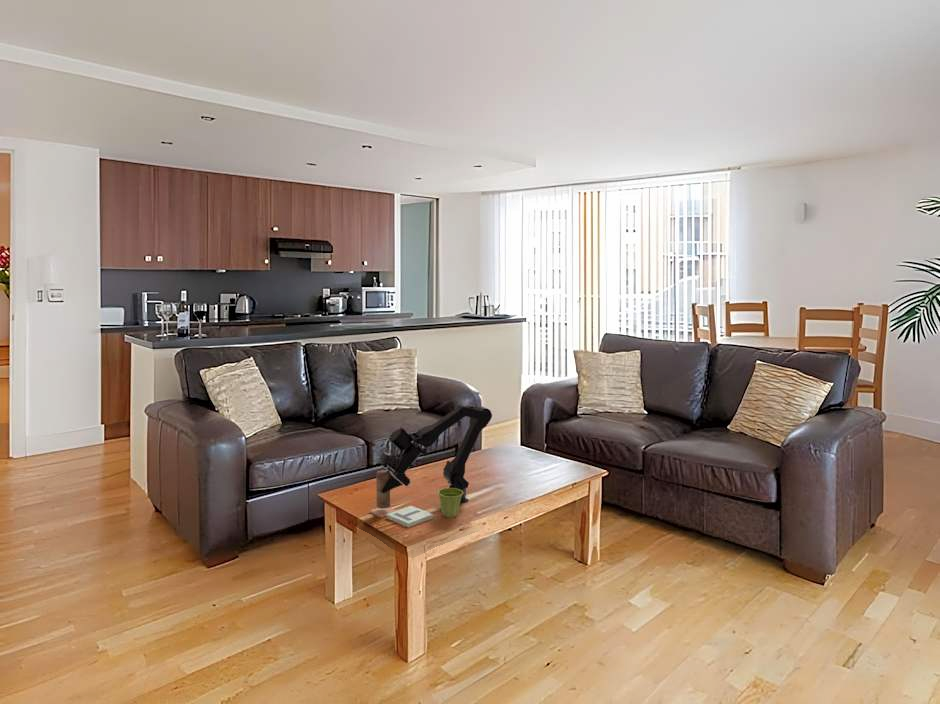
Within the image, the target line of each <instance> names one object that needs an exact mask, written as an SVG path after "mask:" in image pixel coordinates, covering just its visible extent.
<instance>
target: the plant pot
mask: <svg viewBox="0 0 940 704" xmlns="http://www.w3.org/2000/svg"><path fill="white" fill-rule="evenodd" d="M437 493H438V496H439V500H440V507H441V508H440V509H441V515H442V516H444V517H445V518H454V517H457V516H459V511H460V506H461V503H460V501H461V498H462V495H463V491H462V490H460V489H457V488H449V487H444V488H441V489H439V490H438V491H437Z"/></svg>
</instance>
